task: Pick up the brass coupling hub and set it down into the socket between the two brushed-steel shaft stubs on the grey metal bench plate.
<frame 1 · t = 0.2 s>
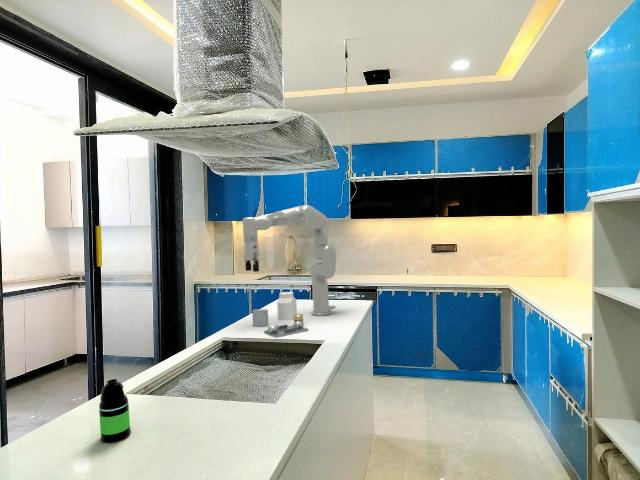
hand: (252, 270, 228), 31 cm above the counter, fingers open, 9 cm apart
jar: (287, 318, 247), on the counter
bottle: (116, 437, 110), on the counter
coupling: (298, 325, 227), on the counter
medicine box: (260, 325, 232), on the counter
shaft bench: (286, 331, 214), on the counter
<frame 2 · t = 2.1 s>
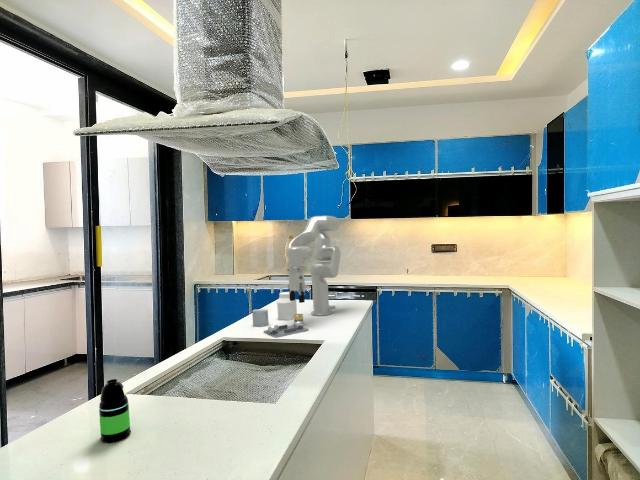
hand: (297, 301, 226), 13 cm above the counter, fingers open, 9 cm apart
nothing on the counter moved.
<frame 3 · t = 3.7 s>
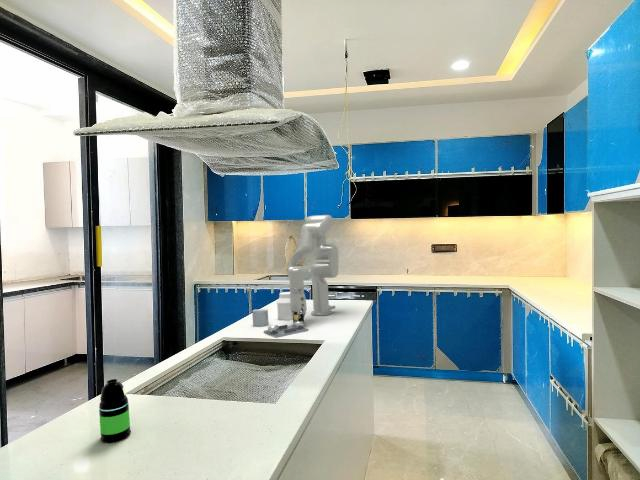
hand: (298, 323, 227), 1 cm above the counter, fingers closed on coupling, 4 cm apart
coupling: (298, 325, 227), on the counter, touching gripper
everything else where it was.
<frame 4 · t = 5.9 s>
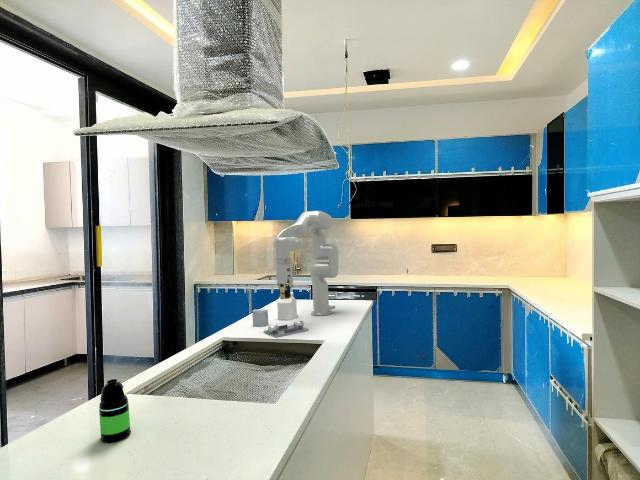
hand: (284, 296, 214), 18 cm above the counter, fingers closed on coupling, 4 cm apart
coupling: (285, 298, 214), point 17 cm above the counter, touching gripper
everything else where it was.
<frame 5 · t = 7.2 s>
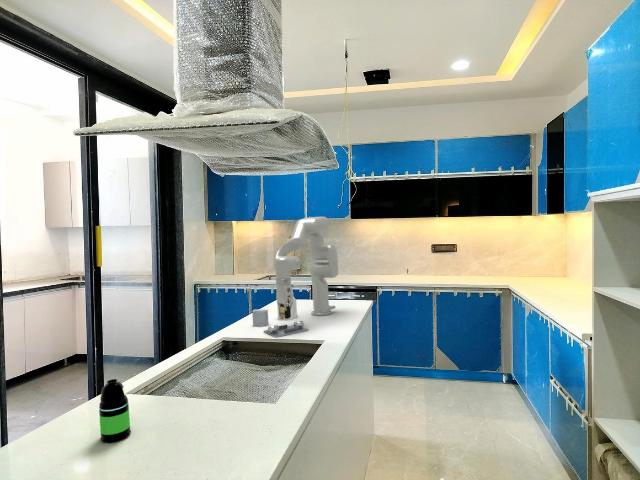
hand: (285, 316, 214), 8 cm above the counter, fingers closed on coupling, 4 cm apart
coupling: (285, 318, 214), point 7 cm above the counter, touching gripper
everything else where it was.
when the fingers open (3 cm above the counter, at t = 8.3 s): coupling drops 1 cm, resting on shaft bench.
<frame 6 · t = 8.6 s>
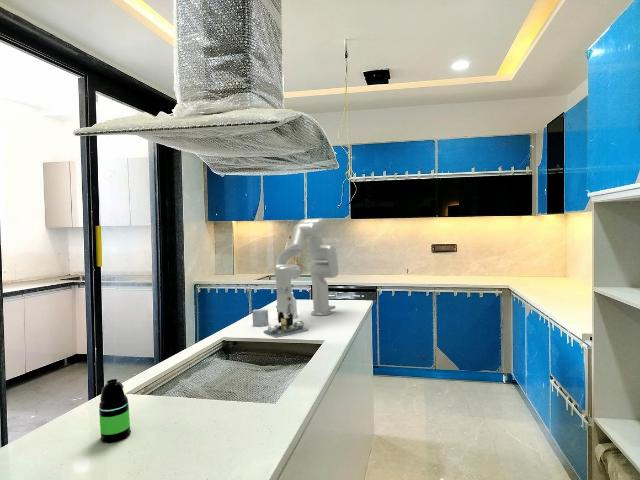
hand: (285, 323, 214), 4 cm above the counter, fingers open, 8 cm apart
coupling: (286, 329, 214), point 1 cm above the counter, touching shaft bench
everything else where it was.
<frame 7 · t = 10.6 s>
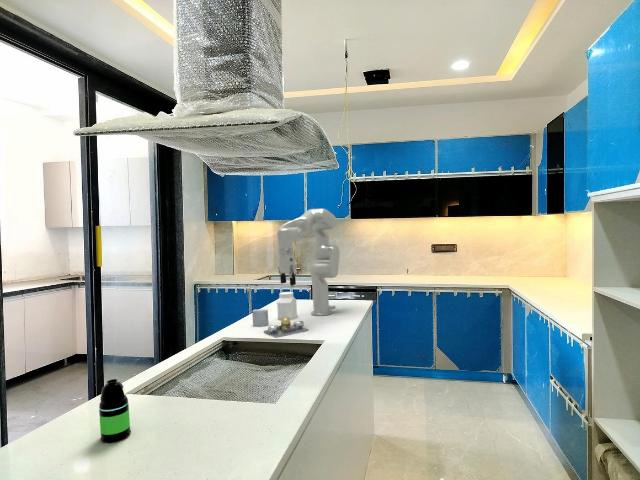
hand: (288, 284, 221), 24 cm above the counter, fingers open, 9 cm apart
nothing on the counter moved.
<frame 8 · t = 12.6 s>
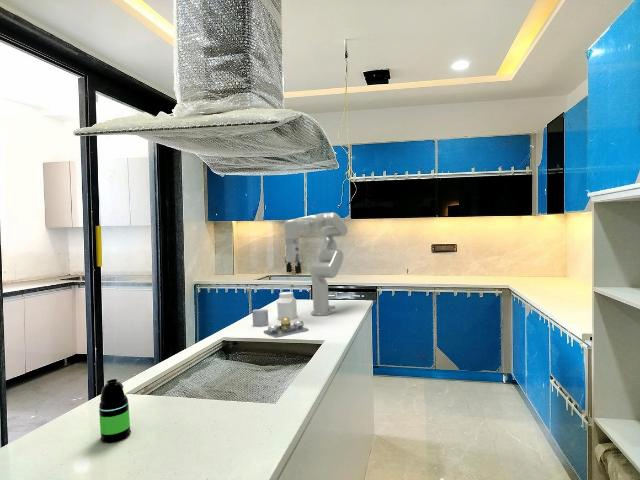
hand: (293, 272, 232), 28 cm above the counter, fingers open, 9 cm apart
nothing on the counter moved.
at the end: coupling 0.1 cm off-centre on the shaft bench, point 1.0 cm above the shaft bench's base; coupling tilted 1°; the gripper is holding nothing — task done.
